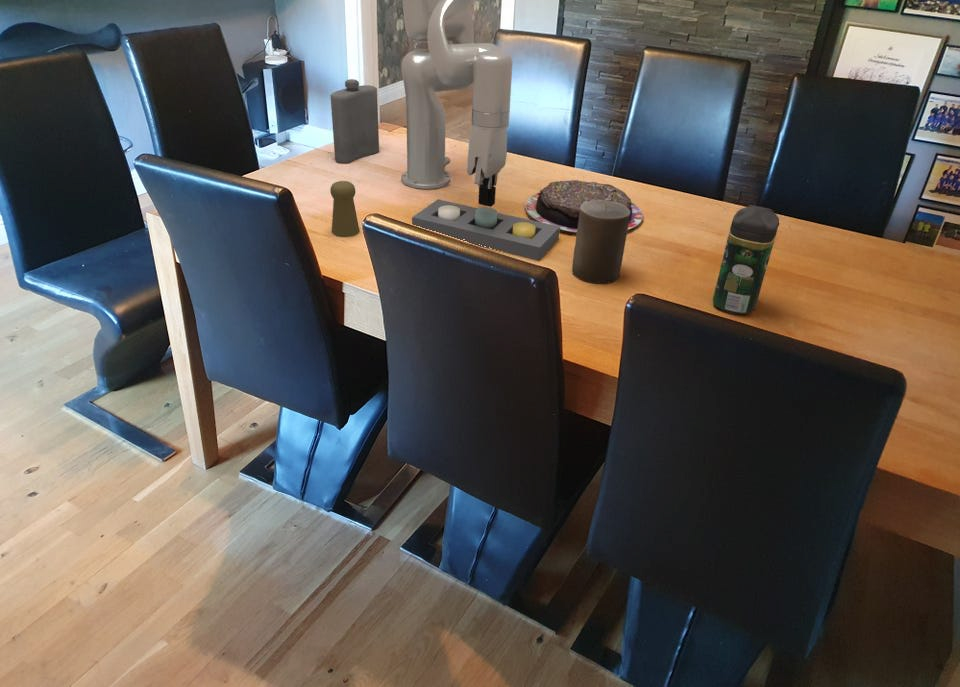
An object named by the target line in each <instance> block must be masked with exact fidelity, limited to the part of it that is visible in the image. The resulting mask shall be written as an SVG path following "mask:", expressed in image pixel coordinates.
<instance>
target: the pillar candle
mask: <svg viewBox="0 0 960 687" xmlns="http://www.w3.org/2000/svg"><path fill="white" fill-rule="evenodd" d="M629 217H630V210H629V209H628V208H627V207H626V206H624V205H622V204H619V203H617V202H610V201H603V200H597V201H588V202H583V204H582V205H581V207H580V213H579V221H578V228H577V234H575V236H576V237H575V243H574V249H573V258H572V266H571V271H572V274H573V275H575V277H576V278H578V279H579V280H582V281H583V282H587V283H593V284H610V283H613V282H616V281H617V280H618V279H619V278H620V275H621V270H622V263H623V258H624V252H625V246H626V241H627V234H628V231H627V229H628V224H629Z"/></svg>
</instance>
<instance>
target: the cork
mask: <svg viewBox="0 0 960 687" xmlns="http://www.w3.org/2000/svg"><path fill="white" fill-rule="evenodd" d="M329 190H330V195H331V198H333V203H332V220H331V222H332V223H331V234H332V235H333V236H335V237H339V238H351V237H355V236H357V235H358V234H359V233H360V232H361V231H360V225H359V220H358V215H357V211H356V205H355V200H354V197H355V196H356V188H355V185H354V184H353V183H352V182H351V181H347V180H339V181H335V182H333V183H332V184H331V185H330V189H329Z"/></svg>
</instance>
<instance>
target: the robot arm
mask: <svg viewBox="0 0 960 687" xmlns="http://www.w3.org/2000/svg"><path fill="white" fill-rule="evenodd" d="M476 1H477V0H402V9H403V22H404V28H405V33H406V35H407V38H408V39H409V40H411V42H415V43H427V46H428V48H421V49H415V50H412V51H409V52H408V53H406V54H405V56H404V57H403V59H402V61H401V75H402V79H403V86H404V93H405V94H404V95H405V105H406V106H405V110H406V111H405V112H406V113H405V114H406V159H407V160H406V161H407V163H406V165H407V168H406V169H407V170H405V171H404V172H403V173H401V182H402V183H403V184H404V185H406V186H409V187H411V188H414V189H415V188H416V189H420V190H421V189H422V190H424V189H425V190H430V189H432V190H433V189H439V188H444V187H446V186H447V185H449V184H450V183H451V181H452V180H451V178H452V177H451V174H450V173H449V172H447V171H446V166H447V165H449V164H450V163H451V158H450V157H449V156H446V121H447V120H446V119H447V118H446V109H445V107H444V104H443V102H441V100H440V99H439V98H438V97H437V93H441V92H449V91H451V92H452V91H460V90H466V89H469V88H470V87H471V86H472V97H471V98H472V99H471V100H472V101H471V103H472V104H471V126H472V127H471V129H470V136H469V142H468V150H467V151H468V152H467V165H466V173H467V175H468V176H473V175H474V174H475V175H474V180H473V183H474V185H477V187H478V199H477V200H478V201H477V203H478V205H480V206H483V207H489V208H492V207H493V206H495V204H496V192H497V190H496V189H497V188H496V186H497V184H498V176H499V173H500V171H501V170H502V169H504V168H505V166H506V162H507V153H508V128H509V126H510V108H511V94H512V76H513V58H512V56H511V54H509V53H507V52H505V51H502V50H501V49H500V47H498V46H497V45H496V44H494V43H489V42H488V43H486V42H481V43H480V42H478V43H475V33H474V21H473V20H474V18H473V12H472V9H471V8H470V7H471V6H472V5H473V4H474V3H475V2H476Z"/></svg>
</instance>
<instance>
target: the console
mask: <svg viewBox="0 0 960 687" xmlns="http://www.w3.org/2000/svg"><path fill="white" fill-rule="evenodd" d="M446 205H451V206H456V207H458V208H459V209H460V217H459V218H458V219H457V220H456V221H453V220H449V219H445V218H440V217H438V209H439V207H441V206H446ZM478 208H479V207H475V206H470V205H467V204H461V203H457V202H454V201H453V202H452V201H448V200H443V199H439V198H437V199H436V200H435V201H434V202H431V204H429V205H428V206H426V207H424V208H423V209H421V210H420V211H418V212H417V213H416V214H415V215H413V216H412V217H411V225H412V224H413V225H416V226H420V227H422V228H425V229H429V230H432V231H436V232H439V233H442V234H445V235H448V236H451V237H454V238H457V239H460V240H463V239H465V240H463V241H467V242H469V243H472V244H475V245H474V246H476V245H478V247H480V246H481V245H482V248H484V246H486V247H485V249H490V248H492V249H490V250H493V251H497V250H499V251H498V252H501V251H503V252H502V253H505V252H507V253H506V254H509V253H510V255H513V256H518V257H521V258H527V259H530V260H533V261H540V260H541V259H542V258H543V257H544V256H545V254H547V252H548V251H549V250H550V249H551V248H552V247H553V246H554V245H555V244H556V243H557V242H558V241H559V238H560V232H561V231H560V227H559V226H555V225H551V224H546V223H542V222H537V221H535V220H534V219H532V220H531V219H527V218H522V217H520V216H519V217H518V216H514V215H511V214H510V215H509V214H506V213H500V212H497V226H496V227H495V228H494V229H493V230H492V229H487V228H483V227H479V226H475V210H476V209H478ZM519 222H527V223H531V224H533V225H534V226H535V227H536V228H535V236H534V237H533V238H532V239H530V238H526V237H521V236H517V235H513V234H512V233H513V225H514V224H515V223H519ZM472 244H471V245H472ZM479 244H480V245H479ZM489 247H490V248H489ZM494 249H496V250H494Z"/></svg>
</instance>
